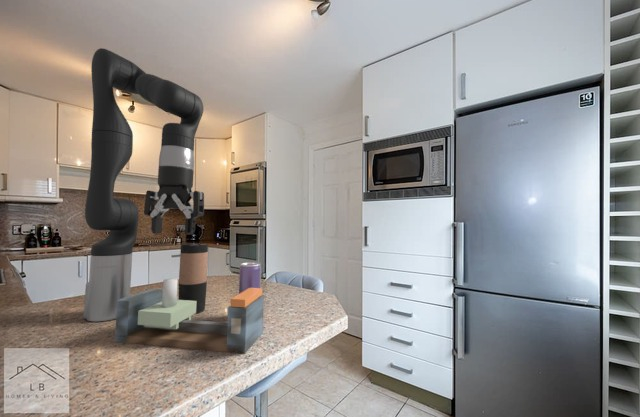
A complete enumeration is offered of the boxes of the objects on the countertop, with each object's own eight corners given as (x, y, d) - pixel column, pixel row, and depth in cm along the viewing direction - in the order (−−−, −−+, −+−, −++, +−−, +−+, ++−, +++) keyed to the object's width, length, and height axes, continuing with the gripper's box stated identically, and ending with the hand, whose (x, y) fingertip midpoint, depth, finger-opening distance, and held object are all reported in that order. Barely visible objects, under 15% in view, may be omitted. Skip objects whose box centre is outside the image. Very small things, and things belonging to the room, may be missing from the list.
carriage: (137, 330, 56) (139, 283, 57) (167, 315, 65) (169, 275, 66) (169, 333, 55) (172, 285, 56) (195, 317, 64) (197, 276, 65)
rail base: (113, 342, 56) (115, 300, 57) (150, 324, 66) (152, 288, 67) (244, 354, 52) (245, 309, 52) (262, 332, 62) (263, 295, 63)
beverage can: (254, 322, 68) (255, 266, 69) (233, 320, 70) (235, 265, 71) (263, 314, 74) (264, 262, 75) (244, 313, 76) (246, 261, 76)
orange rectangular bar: (230, 306, 53) (230, 298, 54) (249, 294, 63) (249, 287, 63) (244, 307, 53) (245, 299, 53) (261, 294, 62) (262, 288, 63)
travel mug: (176, 317, 72) (180, 245, 73) (177, 308, 78) (180, 243, 80) (206, 313, 75) (209, 244, 76) (205, 305, 82) (207, 242, 83)
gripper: (212, 170, 65) (208, 234, 64) (162, 170, 67) (158, 232, 66) (193, 164, 58) (189, 235, 57) (138, 164, 60) (133, 233, 59)
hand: (172, 234), depth 62 cm, fingers open, 8 cm apart
